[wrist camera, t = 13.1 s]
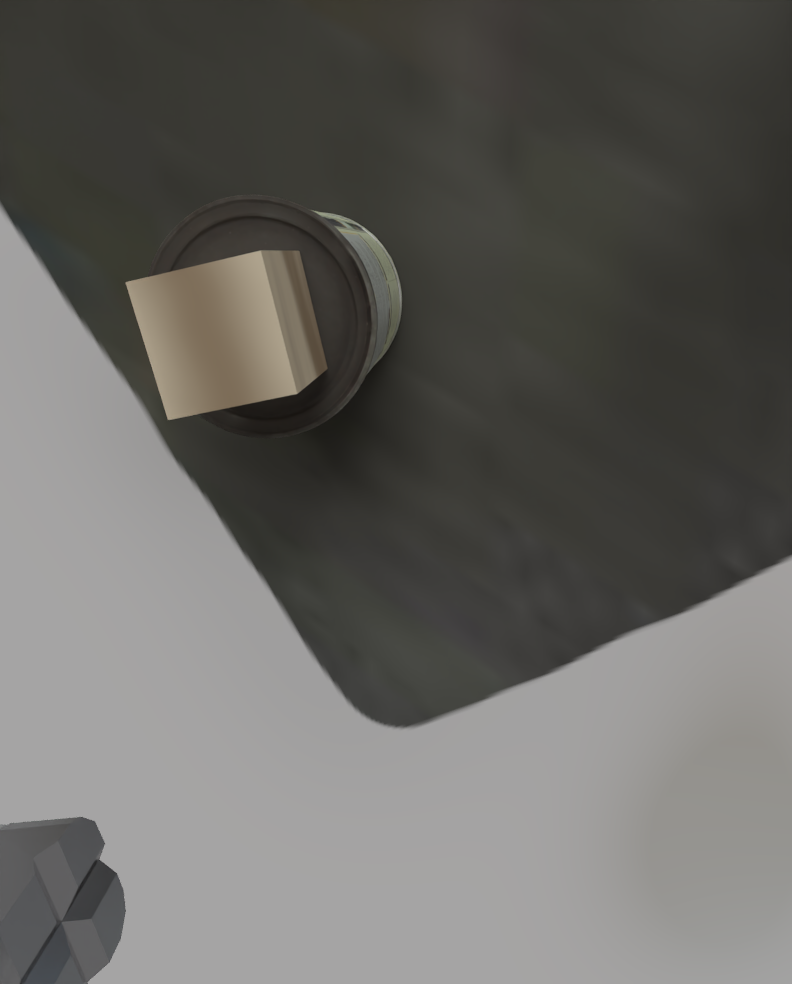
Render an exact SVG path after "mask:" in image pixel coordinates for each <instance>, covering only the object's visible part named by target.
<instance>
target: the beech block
mask: <svg viewBox="0 0 792 984" xmlns="http://www.w3.org/2000/svg"><path fill="white" fill-rule="evenodd" d="M126 285H127V289H128V292H129V295H130V298H131V302H132V305H133V308H134V311H135V314H136V318H137V321H138V324H139V327H140V331H141V334H142V337H143V340H144V343H145V347H146V350H147V353H148V356H149V360H150V363H151V366H152V369H153V373H154V376H155V379H156V382H157V385H158V389H159V392H160V395H161V398H162V402H163V405H164V408H165V411H166V414H167V418H168V420H171V419H176V418H181V417H186V416H191V415H196V414H201V413H206V412H210V411H215V410H220V409H225V408H230V407H235V406H240V405H245V404H250V403H255V402H260V401H265V400H270V399H274V398H279V397H284V396H289V395H294V394H298V393H299V392H300V391H301V390H303V389H304V388H305V387H306V386H307V385H309V384H310V383H311V382H312V381H313V380H315V379H316V378H317V377H318V376H320V375H321V374H322V373H323V372H324V371H326V370H327V369H328V368H327V363H326V359H325V355H324V351H323V347H322V343H321V339H320V334H319V330H318V326H317V322H316V318H315V314H314V310H313V305H312V301H311V297H310V293H309V289H308V285H307V281H306V276H305V272H304V268H303V264H302V260H301V256H300V252H299V251H275V250H260V251H256V252H252V253H248V254H244V255H239V256H235V257H231V258H227V259H222V260H218V261H214V262H210V263H205V264H201V265H197V266H193V267H188V268H184V269H180V270H176V271H172V272H167V273H163V274H159V275H155V276H150V277H146V278H142V279H138V280H133V281H129V282H126Z"/></svg>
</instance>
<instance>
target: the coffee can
mask: <svg viewBox="0 0 792 984" xmlns="http://www.w3.org/2000/svg"><path fill="white" fill-rule="evenodd" d="M260 250H275V251H299V252H300V256H301V260H302V264H303V268H304V272H305V276H306V281H307V285H308V289H309V293H310V297H311V301H312V305H313V310H314V314H315V318H316V322H317V326H318V330H319V334H320V339H321V343H322V347H323V351H324V355H325V359H326V363H327V368H328V369H327V370H326V371H324V372H323V373H322V374H321V375H320V376H318V377H317V378H316V379H315V380H313V381H312V382H311V383H310V384H309V385H307V386H306V387H305V388H304V389H303V390H301V391H300V392H299V393H298V394H294V395H289V396H284V397H279V398H274V399H270V400H265V401H260V402H255V403H250V404H245V405H240V406H235V407H230V408H225V409H220V410H215V411H210V412H206V413H201V414H197V415H199V416H200V417H202V418H203V419H205V420H206V421H208V422H210V423H212V424H214V425H216V426H218V427H220V428H222V429H224V430H226V431H229V432H232V433H236V434H239V435H243V436H248V437H256V438H280V437H287V436H292V435H296V434H300V433H303V432H305V431H308V430H310V429H313V428H315V427H317V426H319V425H321V424H322V423H324V422H326V421H327V420H329V419H330V418H332V417H333V416H334V415H336V414H337V413H338V412H339V411H340V410H341V409H342V408H343V407H344V406H345V405H346V404H347V403H348V402H349V401H350V400H351V399H352V398H353V396H354V395H355V393H356V392H357V390H358V389H359V388H360V386H361V384H362V383H363V381H364V379H365V377H366V375H367V374H368V372H369V371H370V370H371V369H372V367H373V366H374V365H375V364H376V363H377V362H378V361H379V360H380V359H381V358H382V356H383V355H384V354H385V353H386V351H387V350H388V348H389V347H390V345H391V343H392V341H393V339H394V337H395V335H396V332H397V330H398V327H399V323H400V318H401V311H402V291H401V286H400V281H399V277H398V274H397V271H396V268H395V266H394V263H393V261H392V258H391V257H390V255H389V254H388V253H387V251H386V250H385V248H384V246H383V245H382V244H381V243H380V242H379V240H378V239H377V238H376V237H375V236H374V235H373V234H372V233H370V232H369V231H368V230H367V229H365V228H364V227H363V226H361V225H359V224H358V223H356V222H354V221H352V220H350V219H348V218H345V217H343V216H339V215H335V214H330V213H321V212H317V211H313V210H310V209H308V208H306V207H304V206H302V205H299V204H297V203H294V202H291V201H289V200H286V199H282V198H277V197H272V196H265V195H238V196H232V197H228V198H223V199H220V200H217V201H214V202H211V203H209V204H207V205H205V206H203V207H201V208H199V209H198V210H196V211H194V212H193V213H192V214H190V215H189V216H187V217H186V218H185V219H184V220H182V221H181V222H180V223H179V224H178V225H177V226H176V227H175V228H174V229H173V230H172V231H171V232H170V233H169V235H168V236H167V237H166V238H165V240H164V241H163V243H162V244H161V246H160V248H159V249H158V251H157V253H156V255H155V257H154V259H153V261H152V264H151V267H150V270H149V273H148V277H150V276H155V275H159V274H163V273H167V272H172V271H176V270H180V269H184V268H188V267H193V266H197V265H201V264H205V263H210V262H214V261H218V260H222V259H227V258H231V257H235V256H239V255H244V254H248V253H252V252H256V251H260Z"/></svg>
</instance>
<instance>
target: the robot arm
mask: <svg viewBox="0 0 792 984" xmlns="http://www.w3.org/2000/svg"><path fill="white" fill-rule="evenodd" d="M104 844H105V843H104V841H103V839H102V836H101V834H100V832H99V830H98V827H97V825H96V823H95V822H94V821H92V820H89V819H86V818H83V817H77V818H67V819H55V820H44V821H32V822H22V823H10V824H8V825H0V984H88V983H87V982H88V981H89V980H90V979H91V978H92V977H93V976H95V975H96V974H97V973H98V972H99V971H100V970H101V969H102V968H103V967H105V966H106V965H107V964H108V963H109V962H110V960H111V958H112V956H113V953H114V952H115V949H116V947H117V945H118V943H119V941H120V939H121V933H122V929H123V923H124V917H125V912H126V910H125V901H124V892H123V888H122V886H121V883H120V880H119V878H118V875H117V873H116V872H114V871H113V870H112V869H111V868H109V867H108V866H107V865H105V864H104V863H103V862H101V861H100V860H99V859H100V856H101V853H102V850H103V847H104Z"/></svg>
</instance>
